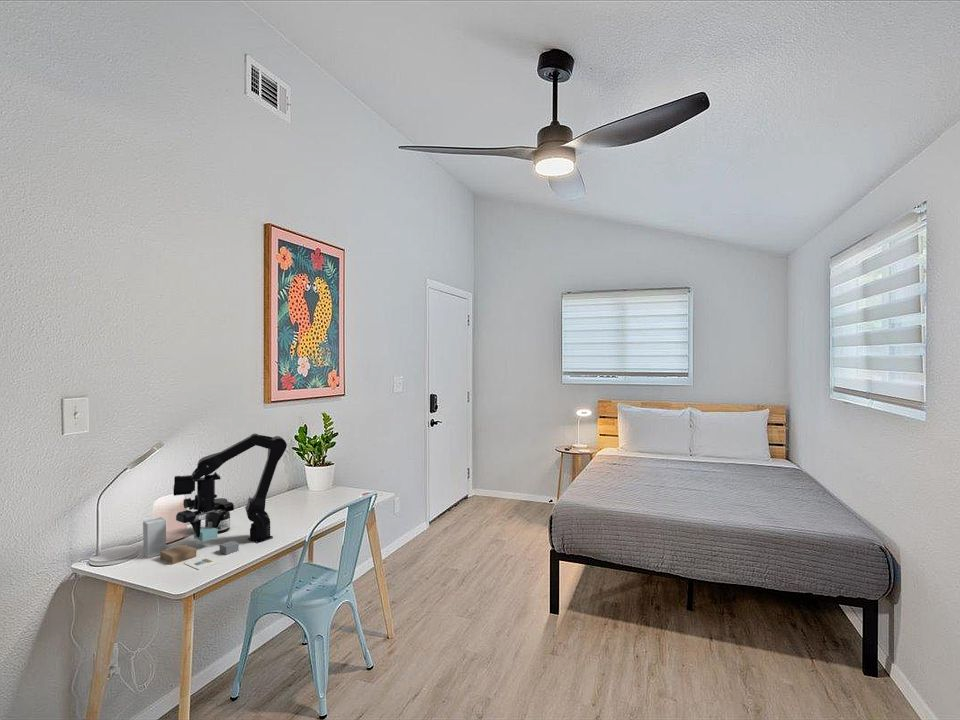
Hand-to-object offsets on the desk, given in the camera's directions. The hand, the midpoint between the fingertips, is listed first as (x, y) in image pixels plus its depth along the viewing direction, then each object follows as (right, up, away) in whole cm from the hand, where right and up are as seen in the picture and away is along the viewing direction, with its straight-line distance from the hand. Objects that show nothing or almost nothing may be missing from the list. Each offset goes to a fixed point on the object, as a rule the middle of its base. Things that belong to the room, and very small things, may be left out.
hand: (205, 534), depth 191 cm
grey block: (+10, -5, -4) cm, 12 cm away
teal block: (0, -1, 0) cm, 1 cm away
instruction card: (+6, -5, -14) cm, 16 cm away
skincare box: (-14, -5, -7) cm, 17 cm away
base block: (-4, -5, -10) cm, 12 cm away
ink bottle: (-4, -4, +17) cm, 18 cm away
